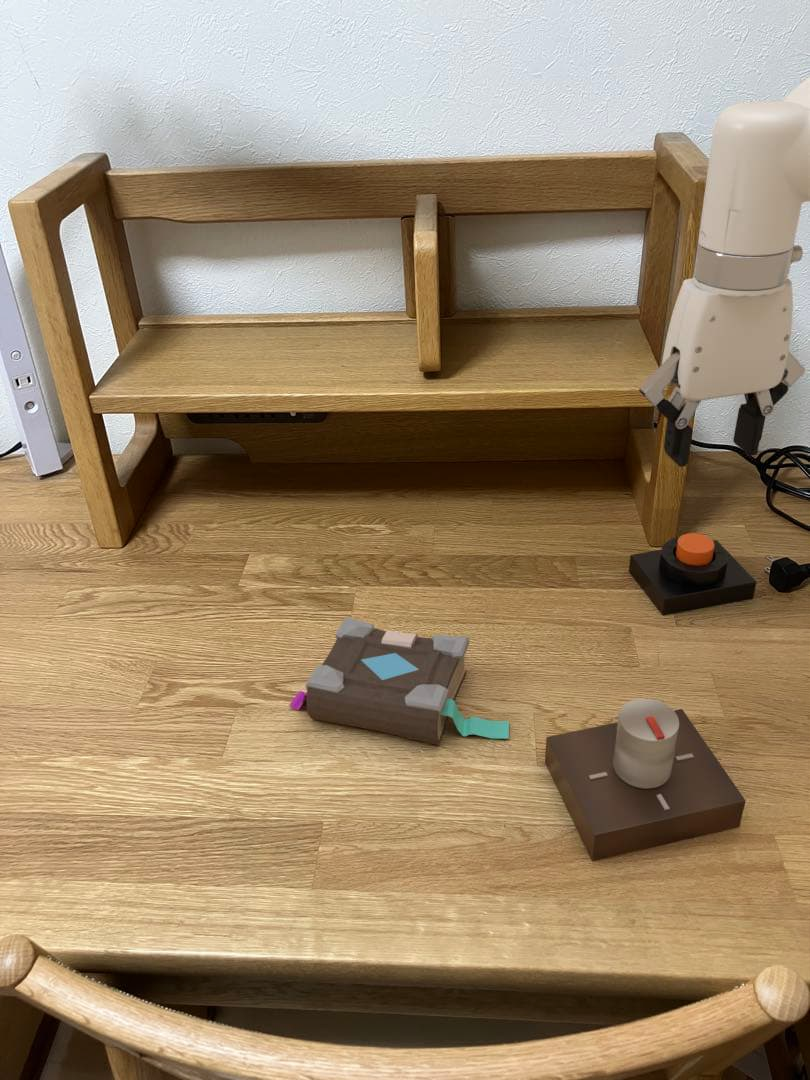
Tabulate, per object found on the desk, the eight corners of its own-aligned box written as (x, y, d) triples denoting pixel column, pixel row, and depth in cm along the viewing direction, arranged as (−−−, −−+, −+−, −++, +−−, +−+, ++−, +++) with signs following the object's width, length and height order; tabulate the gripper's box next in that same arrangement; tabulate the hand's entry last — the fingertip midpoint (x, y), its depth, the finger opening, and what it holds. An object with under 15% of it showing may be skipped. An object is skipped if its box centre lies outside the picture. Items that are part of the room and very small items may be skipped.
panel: (677, 734, 77) (682, 707, 75) (739, 826, 68) (746, 799, 67) (544, 762, 75) (546, 735, 73) (591, 861, 66) (594, 833, 65)
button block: (713, 556, 98) (719, 525, 96) (753, 599, 91) (760, 567, 89) (628, 571, 96) (631, 540, 94) (662, 616, 90) (667, 584, 88)
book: (529, 669, 84) (531, 627, 81) (501, 764, 75) (502, 721, 72) (332, 634, 90) (327, 595, 87) (282, 719, 80) (275, 678, 77)
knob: (604, 750, 71) (610, 700, 68) (656, 741, 72) (664, 691, 69) (625, 793, 68) (632, 742, 65) (680, 783, 68) (690, 732, 65)
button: (701, 544, 94) (703, 530, 93) (718, 563, 91) (721, 549, 90) (669, 550, 93) (671, 536, 92) (686, 569, 90) (688, 555, 89)
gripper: (807, 243, 80) (771, 425, 90) (626, 264, 77) (609, 449, 87) (861, 267, 74) (816, 459, 84) (666, 291, 71) (643, 487, 81)
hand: (710, 452), depth 85 cm, fingers open, 6 cm apart
